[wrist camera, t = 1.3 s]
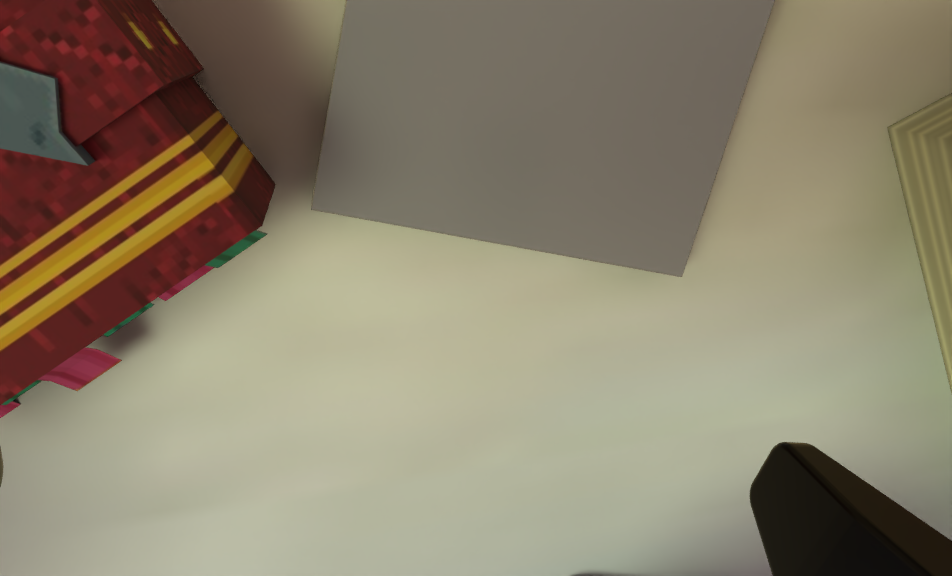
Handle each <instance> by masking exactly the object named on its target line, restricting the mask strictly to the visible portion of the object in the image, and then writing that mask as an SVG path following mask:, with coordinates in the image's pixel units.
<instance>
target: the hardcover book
mask: <svg viewBox="0 0 952 576" xmlns="http://www.w3.org/2000/svg"><path fill="white" fill-rule="evenodd" d="M887 128H888V132H889V136H890V141H891V145H892V149H893V153H894V157H895V161H896V165H897V169H898V174H899V178H900V182H901V186H902V190H903V194H904V198H905V203H906V207H907V211H908V215H909V219H910V223H911V227H912V231H913V236H914V240H915V244H916V248H917V252H918V256H919V260H920V265H921V269H922V273H923V277H924V281H925V285H926V289H927V293H928V298H929V302H930V306H931V310H932V314H933V318H934V322H935V327H936V331H937V335H938V339H939V343H940V347H941V351H942V355H943V360H944V364H945V368H946V372H947V376H948V380H949V384H950V389H951V393H952V93H951V94H949V95H947V96H945V97H943V98H941V99H940V100H938V101H936V102H934V103H932V104H930V105H928V106H927V107H925V108H923V109H921V110H919V111H917V112H915V113H913V114H912V115H910V116H908V117H906V118H904V119H902V120H900V121H899V122H897V123H895V124H893V125H891V126H889V127H887Z"/></svg>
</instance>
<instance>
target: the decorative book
mask: <svg viewBox="0 0 952 576" xmlns="http://www.w3.org/2000/svg"><path fill="white" fill-rule="evenodd" d="M203 69H204V68H203V67H202V65H201V64H200V63H199V62H198V60H197V59H196V58H195V56H194V55H193V54H192V52H191V51H190V50H189V49H188V47H187V46H186V45H185V43H184V42H183V41H182V39H181V38H180V37H179V36H178V34H177V33H176V32H175V30H174V29H173V28H172V26H171V25H170V24H169V23H168V21H167V20H166V19H165V17H164V16H163V15H162V13H161V12H160V11H159V10H158V8H157V7H156V6H155V4H154V3H153V2H152V0H0V418H1V417H3V416H4V415H6V414H7V413H9V412H10V411H12V410H13V409H15V408H16V407H18V406H19V405H20V404H19V403H16V402H12V401H13V400H15V399H16V398H17V397H19V396H20V395H22V394H23V393H25V392H26V391H28V390H29V389H31V388H32V387H33V386H35V385H36V384H38V383H39V382H41V381H42V380H44V381H52V382H55V383H57V384H60V385H63V386H65V387H68V388H71V389H73V390H76V391H78V390H80V389H81V388H82V387H84V386H85V385H87V384H88V383H90V382H91V381H93V380H94V379H96V378H97V377H99V376H100V375H101V374H103V373H104V372H106V371H107V370H109V369H110V368H112V367H113V366H115V365H116V364H118V363H119V362H120V361H122V360H120V359H118V358H116V357H113V356H111V355H109V354H107V353H105V352H102V351H100V350H98V349H92V348H86V346H87V345H89V344H90V343H92V342H93V341H95V340H96V339H98V338H99V337H100V336H102V335H105V336H107V337H108V336H110V335H111V334H112V333H114V332H115V331H117V330H118V329H120V328H121V327H123V326H124V325H126V324H127V323H128V322H130V321H131V320H133V319H134V318H136V317H137V316H139V315H140V314H142V313H143V312H144V311H146V310H147V309H149V308H150V307H152V306H153V305H154V304H152V303H150V302H151V301H153V300H154V299H156V298H157V297H159V298H161V299H163V300H165V301H166V300H168V299H169V298H171V297H172V296H174V295H175V294H177V293H178V292H180V291H181V290H182V289H184V288H185V287H187V286H188V285H190V284H191V283H193V282H194V281H196V280H197V279H198V278H200V277H201V276H203V275H204V274H206V273H207V272H209V271H210V270H212V269H213V268H214V267H216V268H219V267H220V266H222V265H223V264H225V263H226V262H228V261H229V260H231V259H232V258H233V257H235V256H236V255H238V254H239V253H241V252H242V251H244V250H245V249H247V248H248V247H249V246H251V245H252V244H254V243H255V242H257V241H258V240H260V239H261V238H263V237H264V236H265V235H267V234H266V233H263V232H260V231H257V230H256V229H258V228H259V227H261V226H262V224H263V221H264V218H265V215H266V212H267V209H268V206H269V203H270V200H271V197H272V194H273V191H274V188H275V185H276V184H275V183H274V181H273V180H272V179H271V178H270V176H269V175H268V174H267V172H266V171H265V170H264V169H263V167H262V166H261V165H260V163H259V162H258V161H257V160H256V158H255V157H254V156H253V154H252V153H251V152H250V151H249V149H248V148H247V147H246V145H245V144H244V143H243V142H242V140H241V139H240V138H239V137H238V135H237V134H236V133H235V131H234V130H233V129H232V128H231V126H230V125H229V124H228V122H227V121H226V120H225V119H224V117H223V116H222V115H221V113H220V112H219V111H218V110H217V108H216V107H215V106H214V105H213V103H212V102H211V101H210V99H209V98H208V97H207V96H206V94H205V93H204V92H203V90H202V89H201V88H200V87H199V85H198V84H197V83H196V81H195V80H194V79H193V78H192V77H193V76H194V75H195V74H197V73H198V72H200V71H201V70H203Z"/></svg>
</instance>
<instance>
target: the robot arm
mask: <svg viewBox="0 0 952 576" xmlns="http://www.w3.org/2000/svg"><path fill="white" fill-rule="evenodd" d="M2 477H3V460H2V454H1V448H0V487H1V482H2ZM750 503H751V507H752V510H753V513H754V517H755V520H756V523H757V526H758V530H759V533H760V536H761V539H762V542H763V546H764V549H765V552H766V555H767V558H768V562H769V565H770V568H771V571H772V575H773V576H952V541H951V540H949V539H948V538H947V537H945V536H944V535H942V534H941V533H939V532H938V531H936V530H935V529H933V528H932V527H931V526H929V525H928V524H926V523H925V522H923V521H922V520H920V519H919V518H917V517H916V516H915V515H913V514H912V513H910V512H909V511H907V510H906V509H904V508H903V507H902V506H900V505H899V504H897V503H896V502H894V501H893V500H891V499H890V498H888V497H887V496H886V495H884V494H883V493H881V492H880V491H878V490H877V489H875V488H874V487H872V486H871V485H870V484H868V483H867V482H865V481H864V480H862V479H861V478H859V477H858V476H856V475H855V474H854V473H852V472H851V471H849V470H848V469H846V468H845V467H843V466H842V465H841V464H839V463H838V462H836V461H835V460H833V459H832V458H830V457H829V456H827V455H826V454H825V453H823V452H822V451H820V450H819V449H817V448H816V447H814V446H812V445H810V444H807V443H793V442H782V443H779V444H777V445H776V446H775V447H774V448H773V449H772V450H771V452H770V454H769V455H768V457H767V459H766V461H765V462H764V464H763V466H762V467H761V469H760V471H759V472H758V474H757V476H756V478H755V479H754V481H753V483H752V485H751V489H750Z"/></svg>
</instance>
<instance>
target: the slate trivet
mask: <svg viewBox="0 0 952 576" xmlns="http://www.w3.org/2000/svg"><path fill="white" fill-rule="evenodd" d="M774 2H775V0H346V4H345V10H344V16H343V22H342V28H341V34H340V40H339V45H338V51H337V57H336V63H335V69H334V75H333V81H332V86H331V92H330V98H329V104H328V110H327V116H326V122H325V128H324V133H323V139H322V145H321V151H320V157H319V163H318V169H317V174H316V180H315V186H314V192H313V198H312V205H311V210H316V211H321V212H327V213H332V214H338V215H343V216H349V217H354V218H360V219H365V220H371V221H376V222H382V223H387V224H393V225H398V226H404V227H409V228H415V229H420V230H426V231H431V232H437V233H442V234H448V235H453V236H459V237H464V238H470V239H475V240H481V241H486V242H491V243H497V244H502V245H508V246H513V247H519V248H524V249H530V250H535V251H541V252H546V253H552V254H557V255H563V256H568V257H574V258H579V259H585V260H590V261H596V262H601V263H607V264H612V265H618V266H623V267H629V268H634V269H640V270H645V271H651V272H656V273H662V274H667V275H673V276H678V277H682V275H683V272H684V269H685V266H686V263H687V260H688V257H689V254H690V251H691V248H692V245H693V242H694V239H695V237H696V234H697V231H698V228H699V225H700V222H701V219H702V216H703V213H704V210H705V207H706V204H707V201H708V198H709V195H710V192H711V189H712V186H713V183H714V180H715V177H716V174H717V171H718V168H719V165H720V162H721V159H722V156H723V153H724V150H725V147H726V144H727V141H728V138H729V135H730V132H731V129H732V126H733V123H734V121H735V118H736V115H737V112H738V109H739V106H740V103H741V100H742V97H743V94H744V91H745V88H746V85H747V82H748V79H749V76H750V73H751V70H752V67H753V64H754V61H755V58H756V55H757V52H758V49H759V46H760V43H761V40H762V37H763V34H764V31H765V28H766V25H767V22H768V19H769V16H770V13H771V10H772V7H773V4H774Z"/></svg>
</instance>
